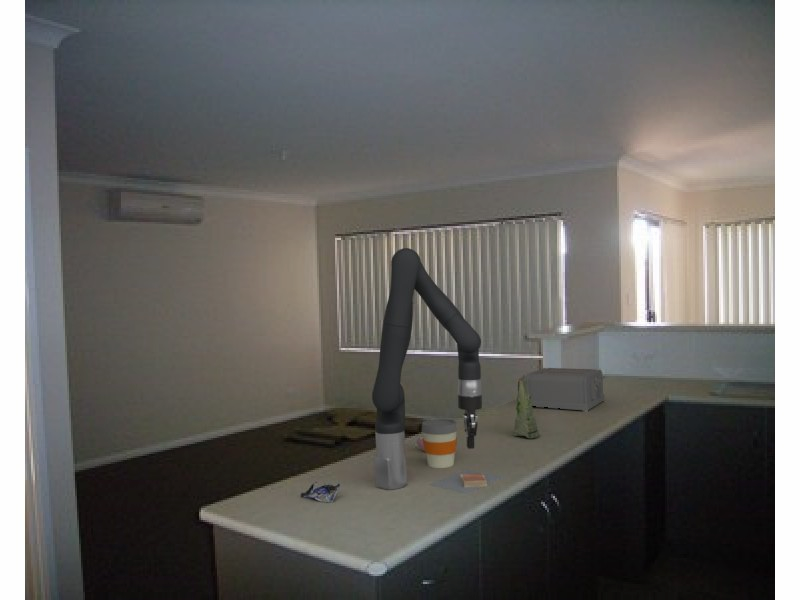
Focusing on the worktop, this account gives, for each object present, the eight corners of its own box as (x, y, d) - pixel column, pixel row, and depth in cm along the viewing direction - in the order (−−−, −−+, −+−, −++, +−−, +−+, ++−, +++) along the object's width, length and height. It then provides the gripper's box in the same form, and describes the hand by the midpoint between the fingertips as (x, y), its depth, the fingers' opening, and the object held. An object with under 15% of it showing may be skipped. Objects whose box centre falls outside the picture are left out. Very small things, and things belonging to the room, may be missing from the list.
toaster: (595, 413, 289) (594, 376, 288) (525, 408, 308) (523, 374, 308) (612, 402, 314) (610, 368, 314) (546, 398, 334) (544, 366, 334)
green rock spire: (523, 441, 240) (520, 378, 240) (506, 435, 251) (503, 375, 251) (545, 437, 245) (543, 375, 244) (528, 431, 255) (525, 372, 255)
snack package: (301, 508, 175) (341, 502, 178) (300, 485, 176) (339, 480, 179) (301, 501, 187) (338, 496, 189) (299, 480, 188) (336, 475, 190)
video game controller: (435, 450, 238) (427, 433, 240) (443, 446, 235) (436, 429, 237) (420, 456, 230) (413, 439, 232) (428, 452, 228) (421, 434, 230)
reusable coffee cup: (417, 469, 208) (416, 425, 208) (429, 459, 220) (427, 418, 219) (452, 471, 203) (451, 427, 203) (463, 461, 215) (461, 419, 215)
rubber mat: (467, 495, 179) (467, 493, 179) (428, 485, 189) (428, 484, 189) (504, 478, 194) (504, 476, 194) (466, 470, 204) (466, 469, 204)
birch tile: (482, 478, 193) (487, 486, 185) (460, 479, 193) (464, 487, 185) (482, 472, 193) (486, 479, 185) (460, 473, 193) (464, 481, 185)
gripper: (454, 390, 196) (455, 443, 197) (461, 397, 183) (462, 454, 183) (477, 389, 197) (478, 442, 197) (485, 396, 184) (486, 453, 184)
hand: (470, 447), depth 190 cm, fingers closed
